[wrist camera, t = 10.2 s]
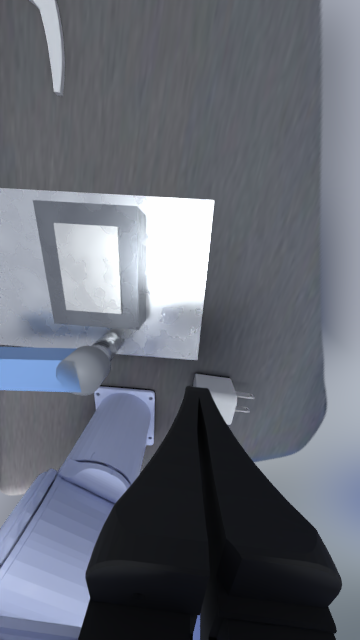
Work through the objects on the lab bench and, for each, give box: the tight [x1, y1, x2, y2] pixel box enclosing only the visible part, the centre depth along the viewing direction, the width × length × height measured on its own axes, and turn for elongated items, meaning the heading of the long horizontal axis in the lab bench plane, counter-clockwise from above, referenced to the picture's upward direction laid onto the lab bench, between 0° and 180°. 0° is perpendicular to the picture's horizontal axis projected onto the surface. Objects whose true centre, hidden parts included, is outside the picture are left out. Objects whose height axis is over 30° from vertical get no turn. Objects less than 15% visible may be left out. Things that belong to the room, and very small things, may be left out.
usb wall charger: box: [193, 374, 255, 425], centre depth 21 cm, size 4×7×4 cm, turn 83°
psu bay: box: [0, 188, 214, 360], centre depth 17 cm, size 16×24×5 cm, turn 87°
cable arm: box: [0, 346, 111, 395], centre depth 16 cm, size 17×4×2 cm, turn 90°
